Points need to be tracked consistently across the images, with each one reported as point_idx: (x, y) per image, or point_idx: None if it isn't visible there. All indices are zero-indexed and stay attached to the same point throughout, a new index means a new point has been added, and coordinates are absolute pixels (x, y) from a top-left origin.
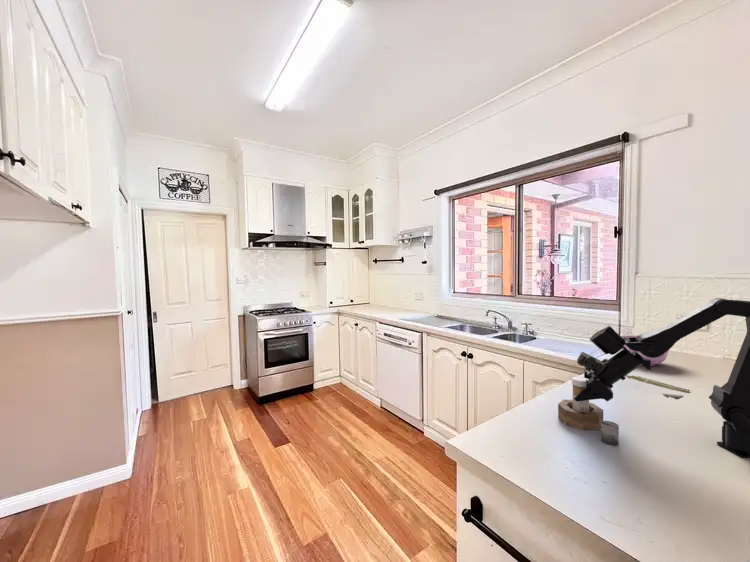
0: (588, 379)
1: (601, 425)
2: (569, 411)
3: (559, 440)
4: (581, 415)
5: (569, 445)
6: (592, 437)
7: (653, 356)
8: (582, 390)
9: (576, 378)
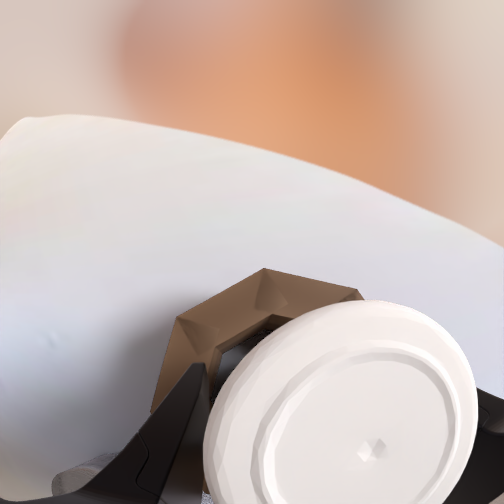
0: (489, 470)
1: (71, 470)
2: (170, 337)
3: (49, 305)
4: (154, 402)
5: (32, 335)
6: (121, 429)
7: None
8: (144, 448)
9: (358, 382)
